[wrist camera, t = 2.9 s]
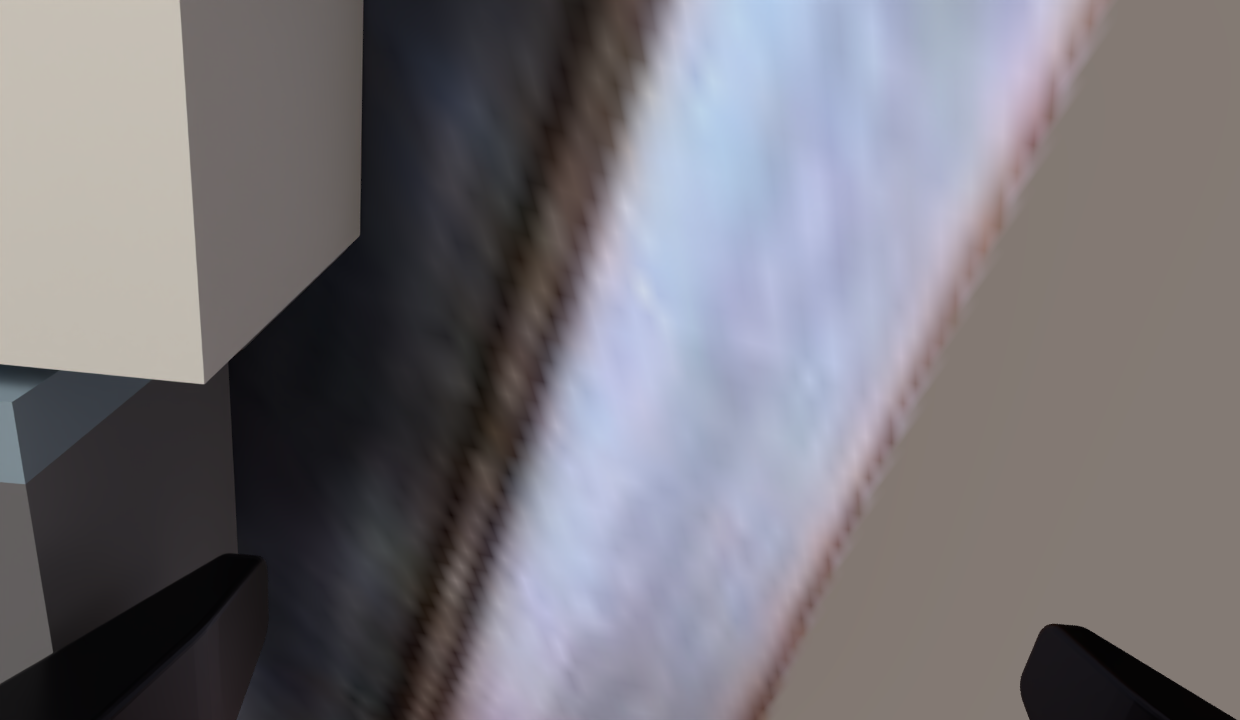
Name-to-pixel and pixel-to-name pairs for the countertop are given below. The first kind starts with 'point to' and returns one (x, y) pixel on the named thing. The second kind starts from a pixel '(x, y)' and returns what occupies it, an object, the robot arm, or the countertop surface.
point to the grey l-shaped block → (104, 498)
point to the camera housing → (170, 175)
